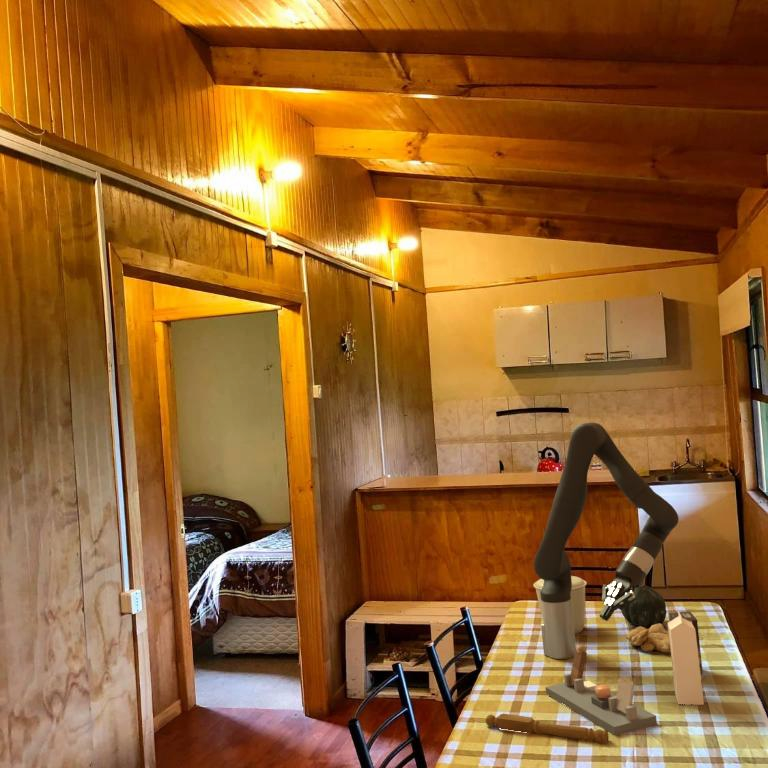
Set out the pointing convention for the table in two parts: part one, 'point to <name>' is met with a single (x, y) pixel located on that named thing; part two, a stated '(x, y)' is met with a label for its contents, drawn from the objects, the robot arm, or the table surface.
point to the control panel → (596, 712)
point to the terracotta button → (603, 691)
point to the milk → (685, 662)
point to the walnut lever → (578, 663)
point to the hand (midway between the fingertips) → (603, 618)
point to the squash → (645, 608)
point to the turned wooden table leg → (546, 728)
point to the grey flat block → (624, 695)
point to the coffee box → (693, 620)
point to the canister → (576, 601)
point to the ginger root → (650, 638)
